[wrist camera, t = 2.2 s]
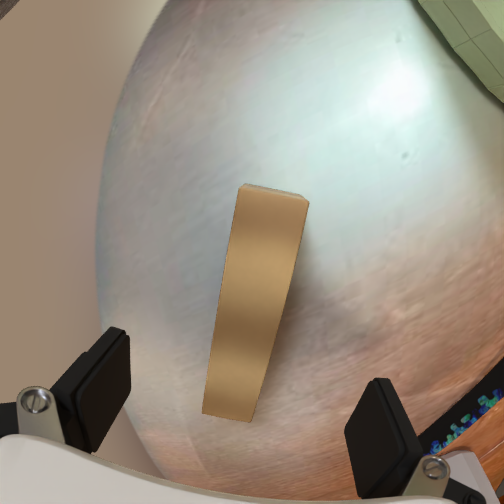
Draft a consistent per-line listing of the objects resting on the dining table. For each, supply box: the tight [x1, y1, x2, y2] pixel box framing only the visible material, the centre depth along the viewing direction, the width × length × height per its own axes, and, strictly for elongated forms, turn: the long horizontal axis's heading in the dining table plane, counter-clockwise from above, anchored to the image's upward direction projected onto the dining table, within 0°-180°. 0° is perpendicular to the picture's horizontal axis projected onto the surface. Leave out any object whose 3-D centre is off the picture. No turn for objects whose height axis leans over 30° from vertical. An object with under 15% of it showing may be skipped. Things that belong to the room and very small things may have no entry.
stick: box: [202, 184, 309, 422], centre depth 16 cm, size 13×3×3 cm, turn 169°
